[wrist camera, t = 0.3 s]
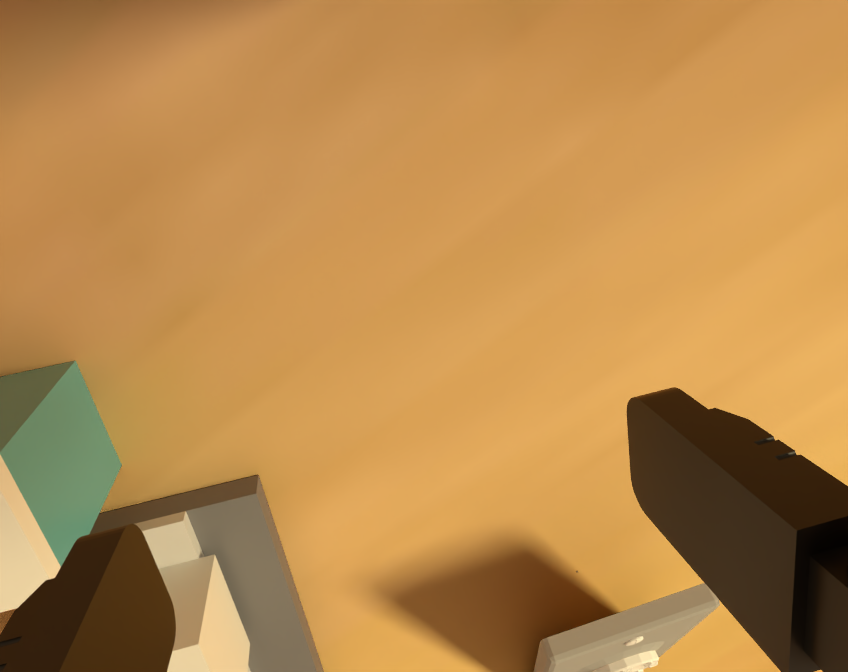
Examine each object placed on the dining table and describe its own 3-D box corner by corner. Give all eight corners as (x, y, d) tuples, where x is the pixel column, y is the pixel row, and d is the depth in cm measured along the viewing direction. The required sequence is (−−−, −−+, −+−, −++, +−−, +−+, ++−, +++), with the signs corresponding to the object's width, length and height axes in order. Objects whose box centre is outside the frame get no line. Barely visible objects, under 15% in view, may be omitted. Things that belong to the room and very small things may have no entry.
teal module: (-36, 384, 25) (-171, 504, 18) (75, 360, 26) (-13, 467, 18) (21, 489, 27) (-80, 633, 20) (121, 465, 28) (59, 597, 21)
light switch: (542, 717, 38) (557, 686, 26) (509, 620, 41) (509, 556, 30) (667, 672, 39) (735, 623, 27) (623, 581, 42) (667, 503, 31)
